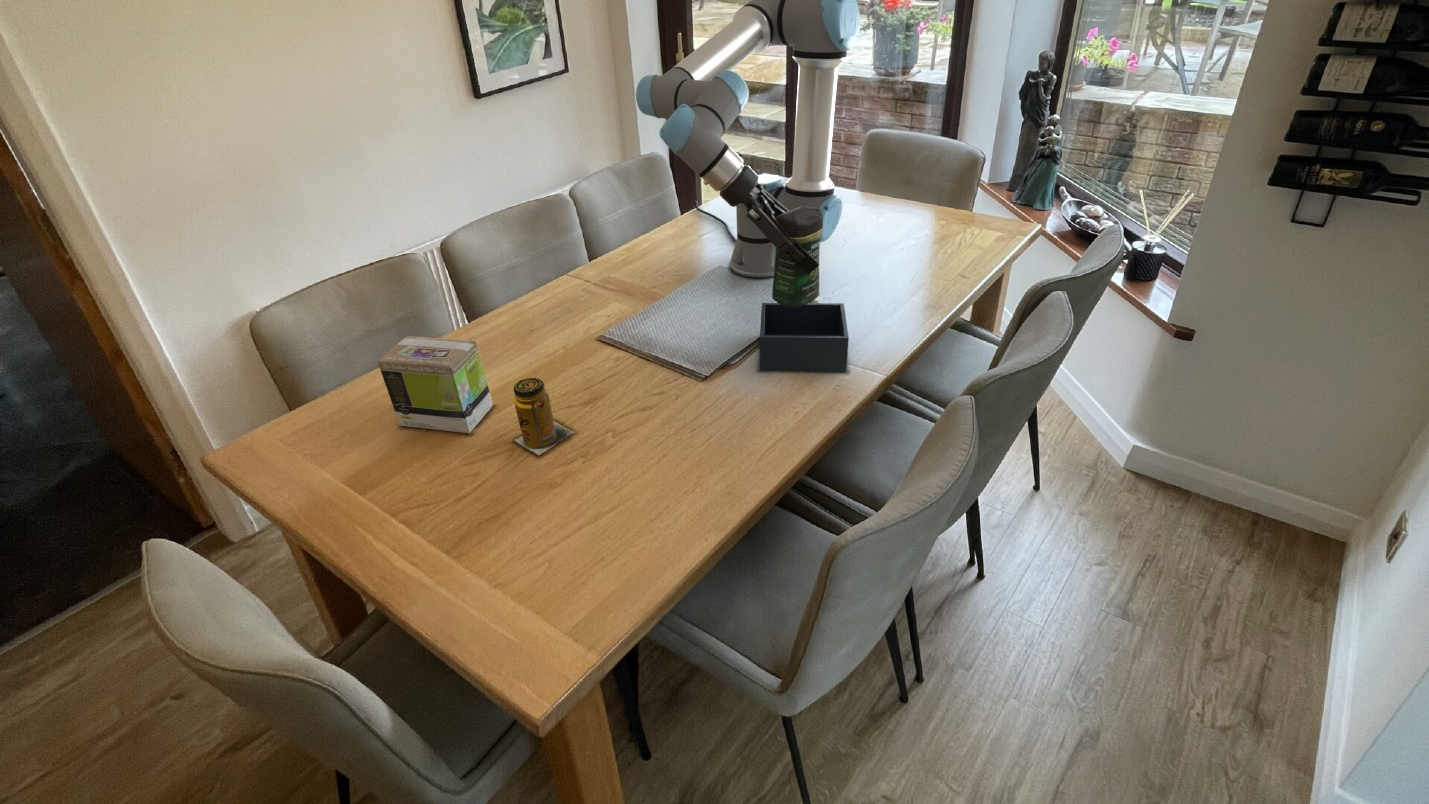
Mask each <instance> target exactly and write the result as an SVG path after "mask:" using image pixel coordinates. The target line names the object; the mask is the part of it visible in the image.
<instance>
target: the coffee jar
mask: <svg viewBox="0 0 1429 804" xmlns="http://www.w3.org/2000/svg"><path fill="white" fill-rule="evenodd" d="M776 219H777V221H778V222H779V223H780V225H781V226H782V227H783V228H784V230H785V231H786V232H787V234H788V235H789V236H790V237H791V239H792V240H793V241H794V242H795V241H796V242H798V243H799V244H800V245H801V246H802V247H803V248H804V249H805V250H806V251H807V252H808V253H809V254H810V255H811V256H812V257H813V258H814V259H815V260H816V261H817V262H818V263H819V264H820V246H821V242H820V240H821V235H822V231H823V214H822V212H821V211H820V209H817V208H814V207H810V206H807V205H802V206H801V207H798V208H795V209H792V210H790V211H787V212H785V213H783V214H781V215H779V216H777V217H776ZM783 244H784V243H783ZM772 280H773V281H772V293H771V297H772V300H773V301H774V302H775V303H779V304H781V305H783V306H786V307H787V306H789V307H801V306H803V305H805V304H808V303H812V302H813V301H815V300H816V299H817V298H818V297H819V295H820V265H819V266H818V267H817V268H815V269H814V270H813V271H812V272H811V273H810V274H808V273H807V272H806V271H805V270H804V269H803V268H801V267H800V266H799V265H798V264H797V263H796V262H795V261H794V260H793V259H792V258H791V257H790V256H789V255H788V254H787V253H786V252H785V253H784V254H783V255H781V254H780V253H779V250H778V249H777V248H776V256H775V270H774V276H773V279H772Z"/></svg>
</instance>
